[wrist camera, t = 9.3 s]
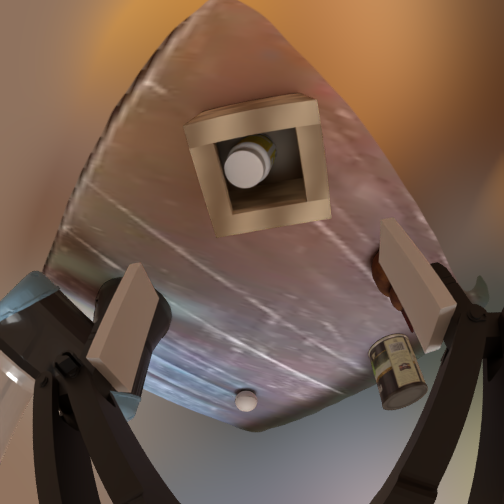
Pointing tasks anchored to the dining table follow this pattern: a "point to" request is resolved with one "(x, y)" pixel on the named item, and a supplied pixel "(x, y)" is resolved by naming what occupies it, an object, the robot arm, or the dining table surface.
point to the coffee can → (397, 372)
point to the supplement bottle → (250, 160)
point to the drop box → (281, 173)
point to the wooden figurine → (387, 288)
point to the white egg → (246, 401)
